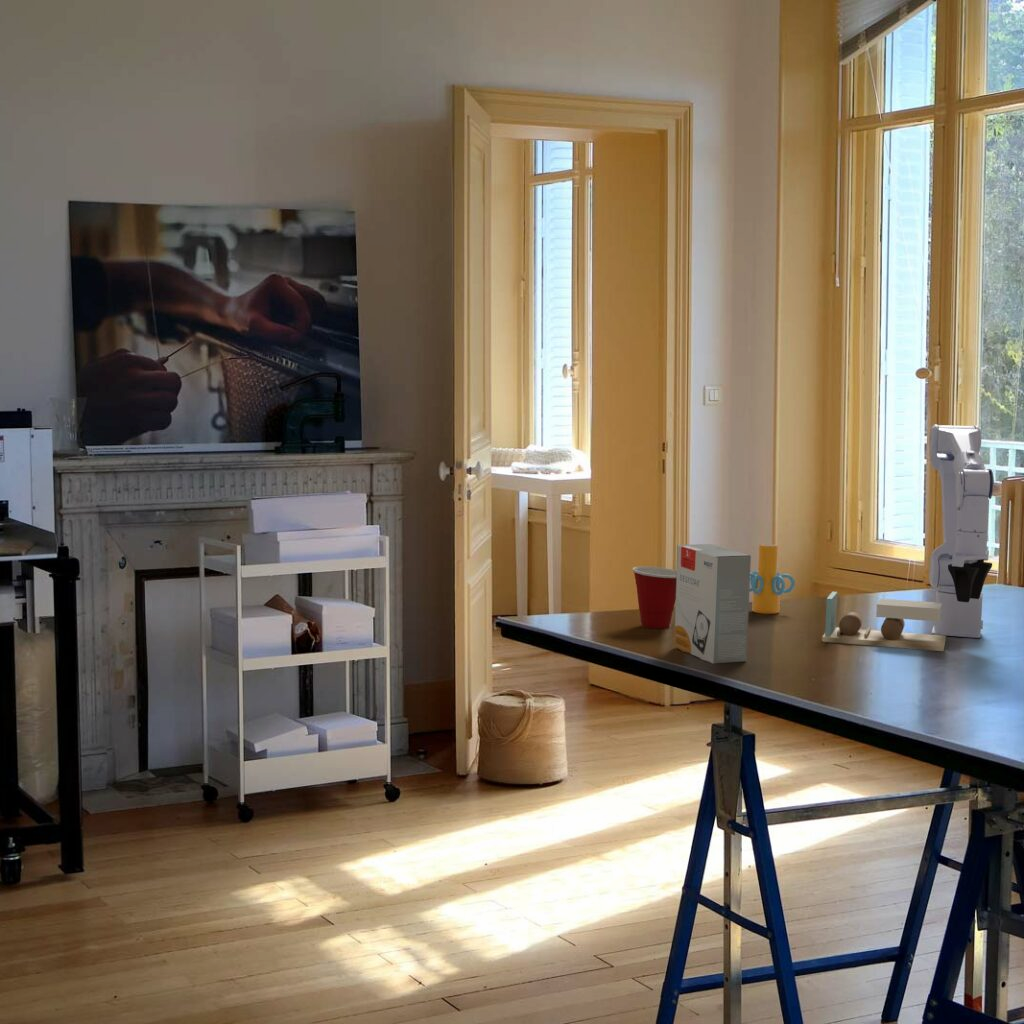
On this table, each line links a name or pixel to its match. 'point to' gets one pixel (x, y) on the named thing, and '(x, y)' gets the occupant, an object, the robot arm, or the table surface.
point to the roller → (850, 623)
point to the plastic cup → (655, 595)
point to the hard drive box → (712, 603)
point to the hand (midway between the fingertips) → (968, 600)
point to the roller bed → (879, 633)
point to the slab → (909, 610)
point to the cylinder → (768, 582)
